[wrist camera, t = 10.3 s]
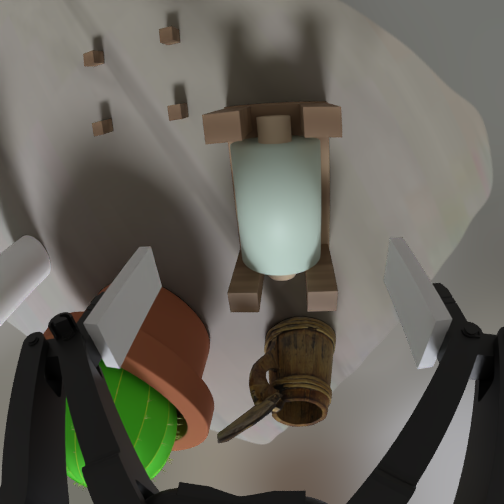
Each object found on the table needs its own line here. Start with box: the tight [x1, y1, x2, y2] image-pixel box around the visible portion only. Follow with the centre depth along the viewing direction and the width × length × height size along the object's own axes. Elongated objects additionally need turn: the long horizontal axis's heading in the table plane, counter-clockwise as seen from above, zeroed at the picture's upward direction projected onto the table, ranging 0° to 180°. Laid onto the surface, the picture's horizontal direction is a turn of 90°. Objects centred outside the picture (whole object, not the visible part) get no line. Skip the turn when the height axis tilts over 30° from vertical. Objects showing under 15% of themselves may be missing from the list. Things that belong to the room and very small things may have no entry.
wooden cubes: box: [83, 26, 188, 136], centre depth 25 cm, size 9×10×2 cm
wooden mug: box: [217, 317, 336, 443], centre depth 31 cm, size 9×14×18 cm, turn 52°
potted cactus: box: [43, 284, 214, 488], centre depth 30 cm, size 22×22×25 cm
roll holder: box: [202, 101, 342, 312], centre depth 26 cm, size 16×9×9 cm, turn 5°
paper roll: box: [230, 115, 321, 281], centre depth 26 cm, size 14×7×7 cm, turn 5°
